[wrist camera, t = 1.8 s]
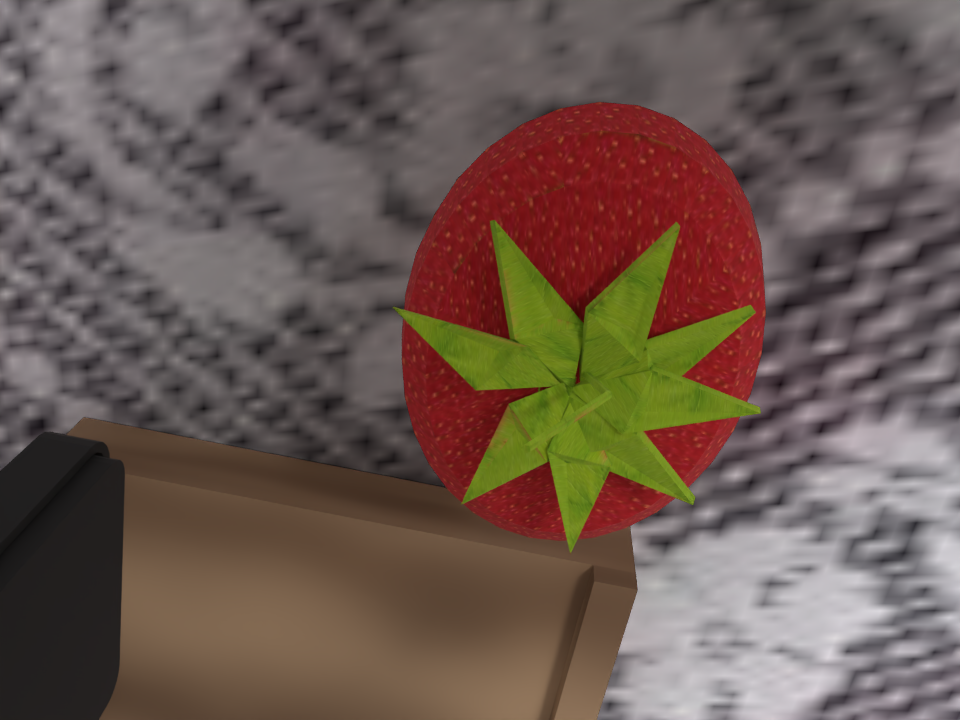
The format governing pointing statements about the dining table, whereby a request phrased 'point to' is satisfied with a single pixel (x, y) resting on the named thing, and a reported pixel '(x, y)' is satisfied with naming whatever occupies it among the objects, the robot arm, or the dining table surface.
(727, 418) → the strawberry
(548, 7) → the dining table surface
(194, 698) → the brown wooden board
